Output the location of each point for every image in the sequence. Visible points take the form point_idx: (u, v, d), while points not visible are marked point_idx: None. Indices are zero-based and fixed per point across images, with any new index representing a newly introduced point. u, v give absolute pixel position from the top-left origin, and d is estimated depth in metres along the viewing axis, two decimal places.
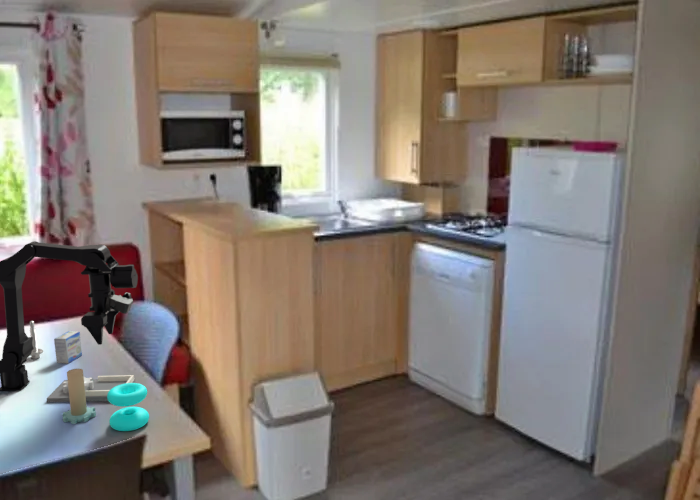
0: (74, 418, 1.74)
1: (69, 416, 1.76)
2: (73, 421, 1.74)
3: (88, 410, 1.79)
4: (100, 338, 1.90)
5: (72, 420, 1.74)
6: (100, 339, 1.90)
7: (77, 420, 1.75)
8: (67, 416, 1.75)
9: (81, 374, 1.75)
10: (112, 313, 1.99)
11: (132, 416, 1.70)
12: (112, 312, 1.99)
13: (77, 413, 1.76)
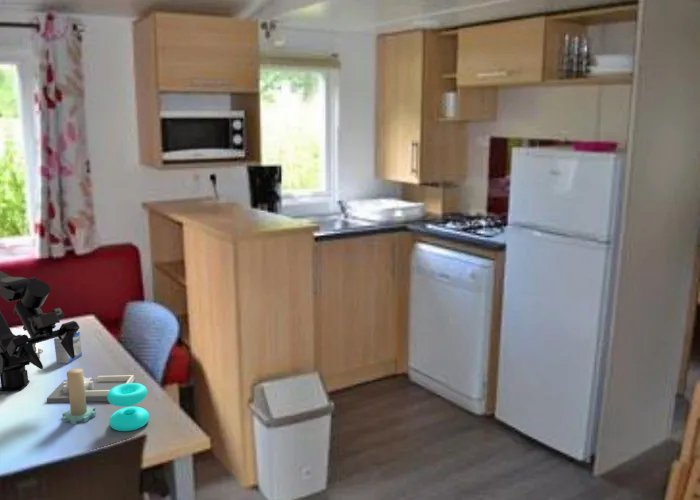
0: (74, 418, 1.74)
1: (69, 416, 1.76)
2: (73, 421, 1.74)
3: (88, 410, 1.79)
4: (36, 361, 1.76)
5: (72, 420, 1.74)
6: (37, 362, 1.76)
7: (77, 420, 1.75)
8: (67, 416, 1.75)
9: (81, 374, 1.75)
10: (65, 337, 1.85)
11: (132, 416, 1.70)
12: (65, 336, 1.85)
13: (77, 413, 1.76)
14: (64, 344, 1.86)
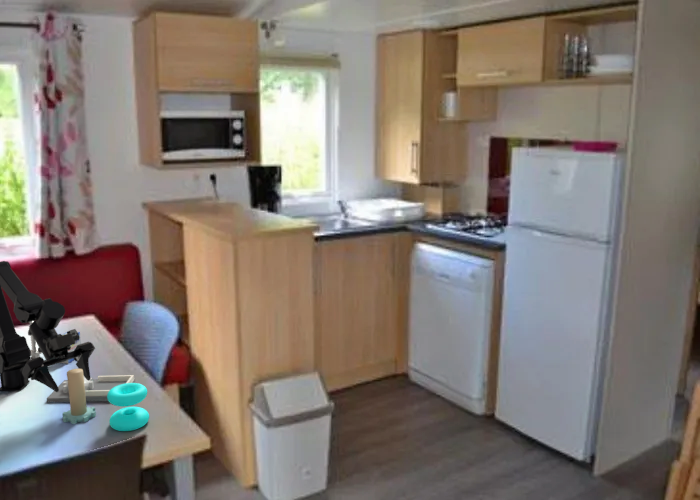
0: (74, 418, 1.74)
1: (69, 416, 1.76)
2: (73, 421, 1.74)
3: (88, 410, 1.79)
4: (52, 384, 1.73)
5: (72, 420, 1.74)
6: (53, 385, 1.73)
7: (77, 420, 1.75)
8: (67, 416, 1.75)
9: (81, 374, 1.75)
10: (81, 358, 1.82)
11: (132, 416, 1.70)
12: (80, 357, 1.82)
13: (77, 413, 1.76)
14: (79, 365, 1.83)
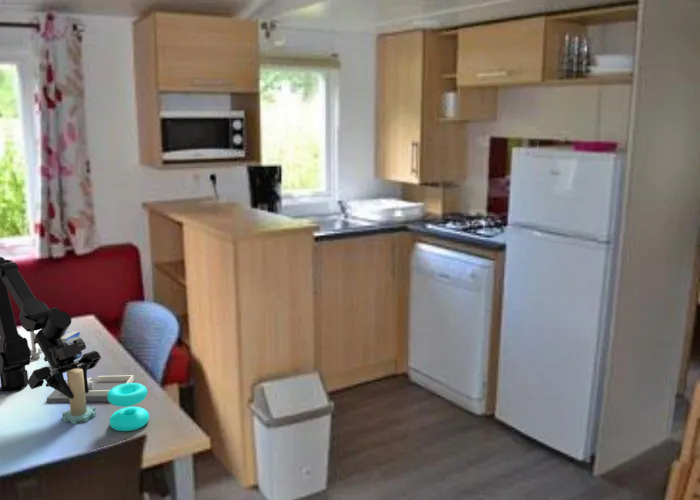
0: (74, 418, 1.74)
1: (69, 416, 1.76)
2: (73, 421, 1.74)
3: (88, 410, 1.79)
4: (67, 391, 1.74)
5: (72, 420, 1.74)
6: (67, 392, 1.74)
7: (77, 420, 1.75)
8: (67, 416, 1.75)
9: (81, 374, 1.75)
10: None
11: (132, 416, 1.70)
12: None
13: (77, 413, 1.76)
14: None
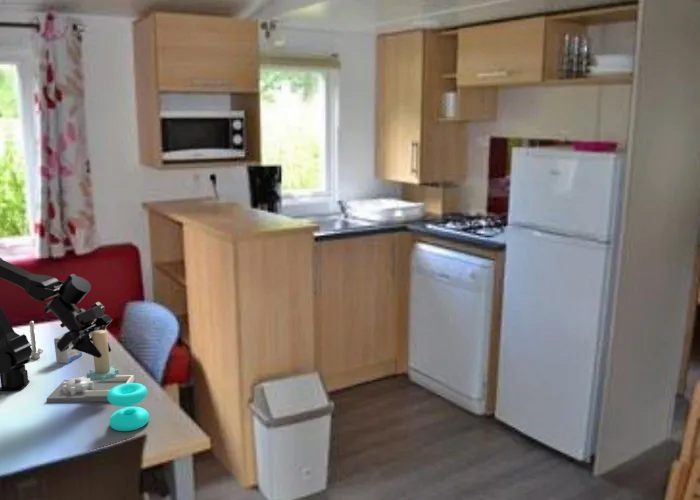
0: (103, 376, 1.85)
1: (96, 375, 1.86)
2: (103, 378, 1.85)
3: (110, 369, 1.90)
4: (95, 351, 1.84)
5: (102, 377, 1.84)
6: (96, 352, 1.84)
7: (106, 377, 1.86)
8: (95, 375, 1.85)
9: (106, 334, 1.86)
10: None
11: (132, 416, 1.70)
12: None
13: (104, 371, 1.87)
14: None
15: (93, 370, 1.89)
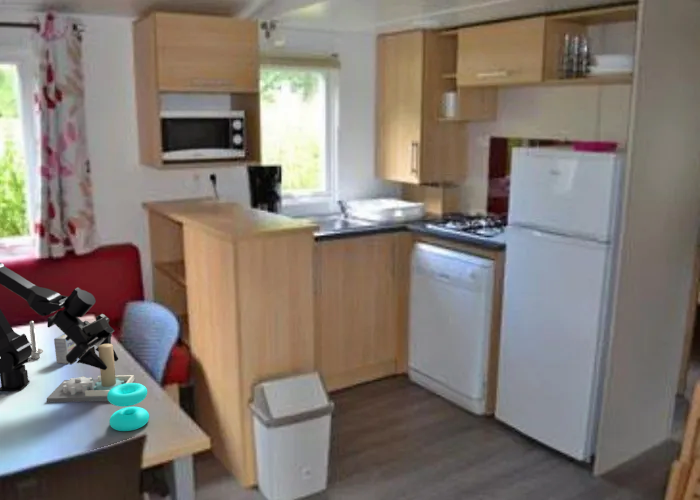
0: (111, 388, 1.90)
1: (104, 388, 1.91)
2: None
3: (115, 381, 1.95)
4: (101, 363, 1.88)
5: None
6: (101, 364, 1.88)
7: None
8: (103, 388, 1.90)
9: (112, 347, 1.92)
10: (104, 342, 1.95)
11: (132, 416, 1.70)
12: (104, 341, 1.95)
13: (111, 384, 1.92)
14: None
15: (99, 383, 1.94)
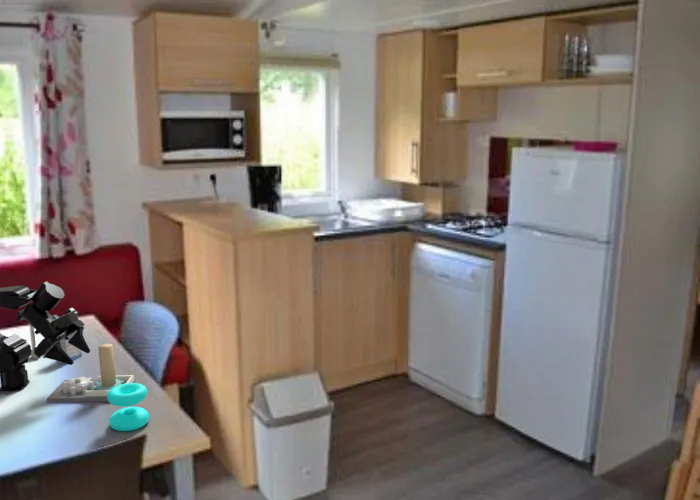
0: (111, 388, 1.90)
1: (104, 388, 1.91)
2: None
3: (115, 381, 1.95)
4: (67, 358, 1.87)
5: None
6: (67, 359, 1.88)
7: None
8: (103, 388, 1.90)
9: (112, 347, 1.92)
10: (76, 335, 1.97)
11: (132, 416, 1.70)
12: (76, 334, 1.97)
13: (111, 384, 1.92)
14: (74, 342, 1.98)
15: (99, 383, 1.94)
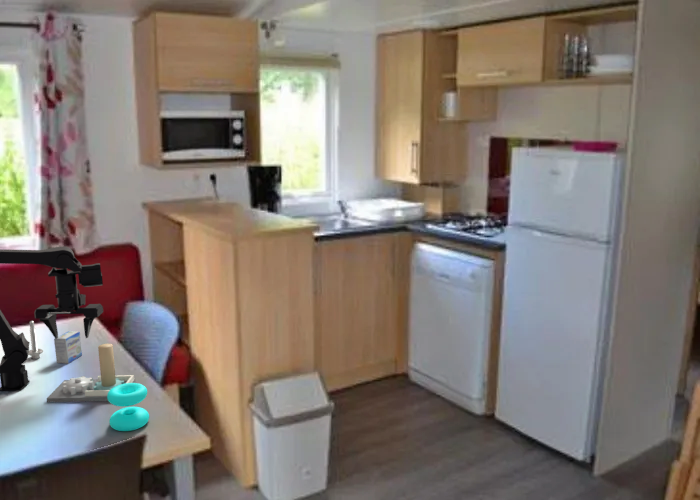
0: (111, 388, 1.90)
1: (104, 388, 1.91)
2: None
3: (115, 381, 1.95)
4: (89, 330, 2.02)
5: None
6: (89, 331, 2.02)
7: None
8: (103, 388, 1.90)
9: (112, 347, 1.92)
10: (54, 317, 2.01)
11: (132, 416, 1.70)
12: (54, 316, 2.01)
13: (111, 384, 1.92)
14: (52, 323, 1.99)
15: (99, 383, 1.94)
